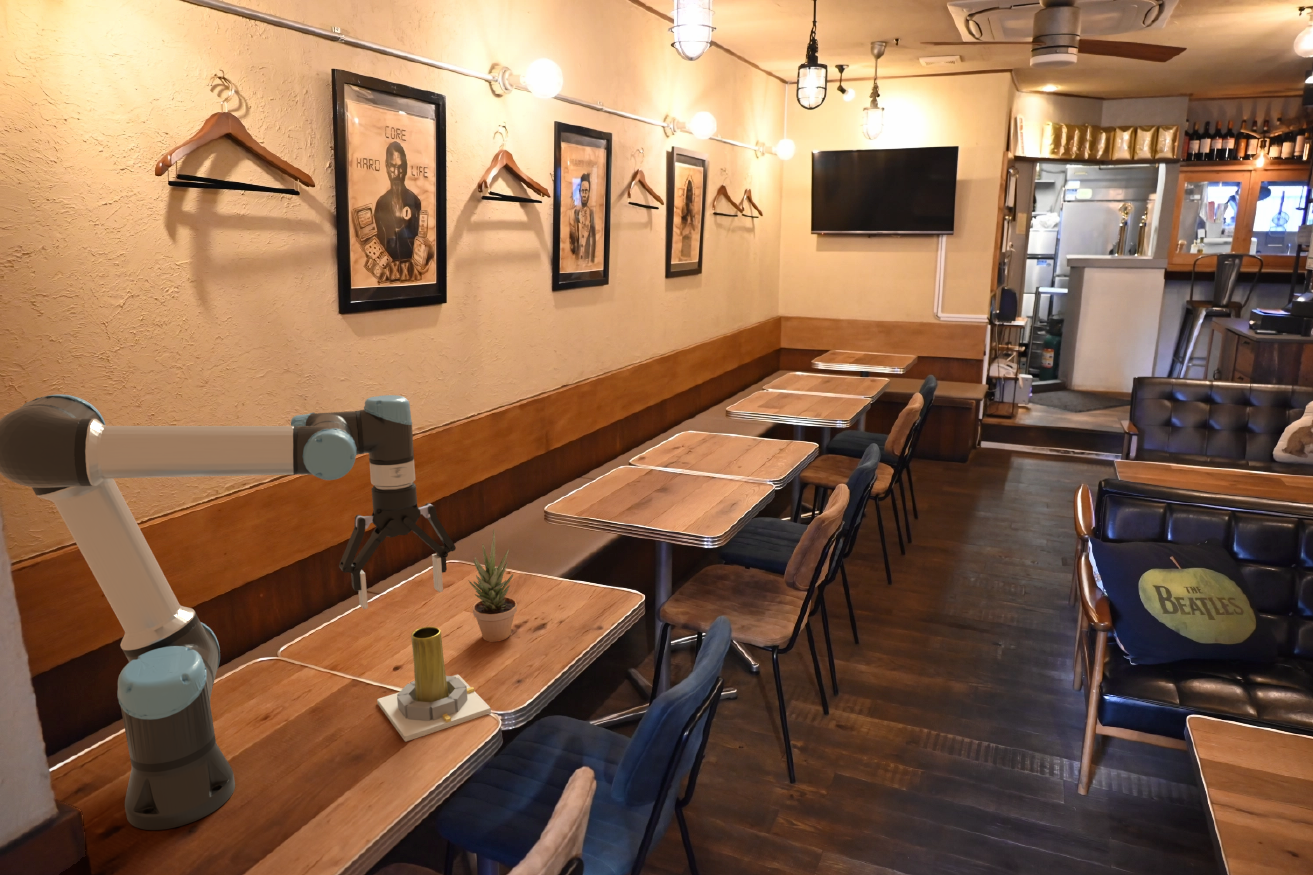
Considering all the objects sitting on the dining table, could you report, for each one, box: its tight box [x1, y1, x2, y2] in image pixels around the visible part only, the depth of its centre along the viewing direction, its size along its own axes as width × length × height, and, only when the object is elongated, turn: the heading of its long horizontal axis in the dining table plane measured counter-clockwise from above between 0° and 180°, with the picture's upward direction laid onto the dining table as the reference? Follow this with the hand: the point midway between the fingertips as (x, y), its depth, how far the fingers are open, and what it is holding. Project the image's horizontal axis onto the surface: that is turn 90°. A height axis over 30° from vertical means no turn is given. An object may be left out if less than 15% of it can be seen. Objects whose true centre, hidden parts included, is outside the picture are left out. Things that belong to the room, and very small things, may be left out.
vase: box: [410, 626, 449, 702], centre depth 161 cm, size 6×6×14 cm
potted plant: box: [467, 528, 518, 643], centre depth 190 cm, size 10×10×25 cm
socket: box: [376, 674, 492, 742], centre depth 162 cm, size 16×16×4 cm
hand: (402, 597), depth 158 cm, fingers open, 13 cm apart
